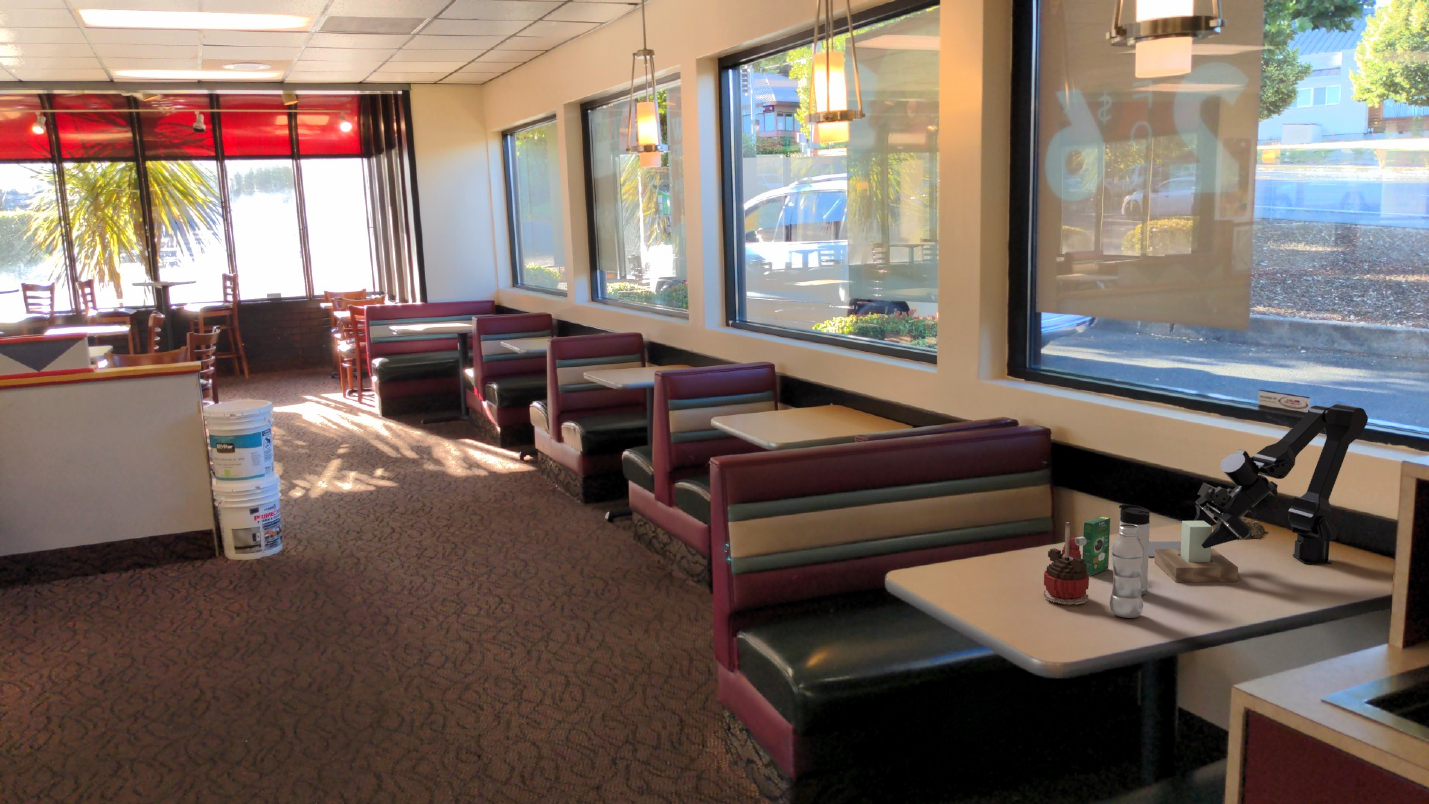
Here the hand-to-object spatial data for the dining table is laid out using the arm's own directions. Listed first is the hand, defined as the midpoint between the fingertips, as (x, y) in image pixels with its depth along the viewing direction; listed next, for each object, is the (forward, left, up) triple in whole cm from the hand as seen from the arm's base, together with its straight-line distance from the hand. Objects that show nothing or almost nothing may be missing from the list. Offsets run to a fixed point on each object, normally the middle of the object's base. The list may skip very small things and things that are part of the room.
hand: (1195, 541), depth 246 cm
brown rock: (-24, -32, -8) cm, 40 cm away
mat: (+1, -17, -8) cm, 19 cm away
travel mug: (+19, +13, -8) cm, 24 cm away
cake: (+35, +18, -8) cm, 40 cm away
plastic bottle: (+25, +28, -8) cm, 38 cm away
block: (0, 0, -8) cm, 8 cm away
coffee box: (+23, -1, -8) cm, 24 cm away
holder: (0, 0, -8) cm, 8 cm away
